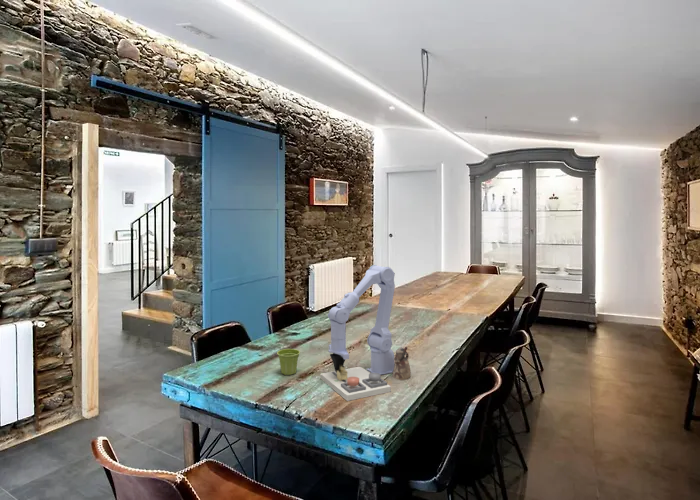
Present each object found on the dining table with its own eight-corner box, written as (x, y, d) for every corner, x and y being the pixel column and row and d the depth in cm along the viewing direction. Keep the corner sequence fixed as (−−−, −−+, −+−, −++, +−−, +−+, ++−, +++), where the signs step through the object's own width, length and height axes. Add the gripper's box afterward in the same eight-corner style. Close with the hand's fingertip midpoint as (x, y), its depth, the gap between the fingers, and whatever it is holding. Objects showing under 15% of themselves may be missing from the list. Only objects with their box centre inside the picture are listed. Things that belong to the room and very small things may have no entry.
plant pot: (301, 368, 184) (300, 348, 183) (299, 376, 175) (299, 355, 174) (279, 368, 184) (278, 348, 183) (275, 377, 174) (275, 355, 174)
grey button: (376, 376, 165) (376, 371, 164) (382, 380, 161) (382, 375, 161) (366, 378, 163) (366, 373, 162) (372, 382, 159) (372, 377, 159)
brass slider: (343, 376, 168) (343, 363, 168) (347, 379, 165) (347, 366, 165) (336, 377, 167) (336, 365, 166) (340, 380, 164) (340, 367, 164)
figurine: (389, 374, 177) (389, 345, 176) (405, 372, 179) (405, 344, 178) (397, 380, 170) (397, 350, 169) (413, 378, 172) (413, 348, 171)
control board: (360, 371, 181) (360, 364, 180) (390, 391, 159) (390, 383, 159) (320, 378, 173) (320, 371, 172) (347, 401, 151) (347, 392, 151)
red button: (355, 380, 161) (355, 375, 160) (361, 384, 157) (361, 379, 156) (345, 382, 159) (345, 377, 158) (350, 386, 155) (350, 381, 155)
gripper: (321, 334, 172) (321, 368, 173) (336, 344, 159) (337, 380, 160) (337, 332, 176) (337, 365, 177) (353, 341, 163) (354, 376, 164)
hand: (338, 372), depth 169 cm, fingers closed
